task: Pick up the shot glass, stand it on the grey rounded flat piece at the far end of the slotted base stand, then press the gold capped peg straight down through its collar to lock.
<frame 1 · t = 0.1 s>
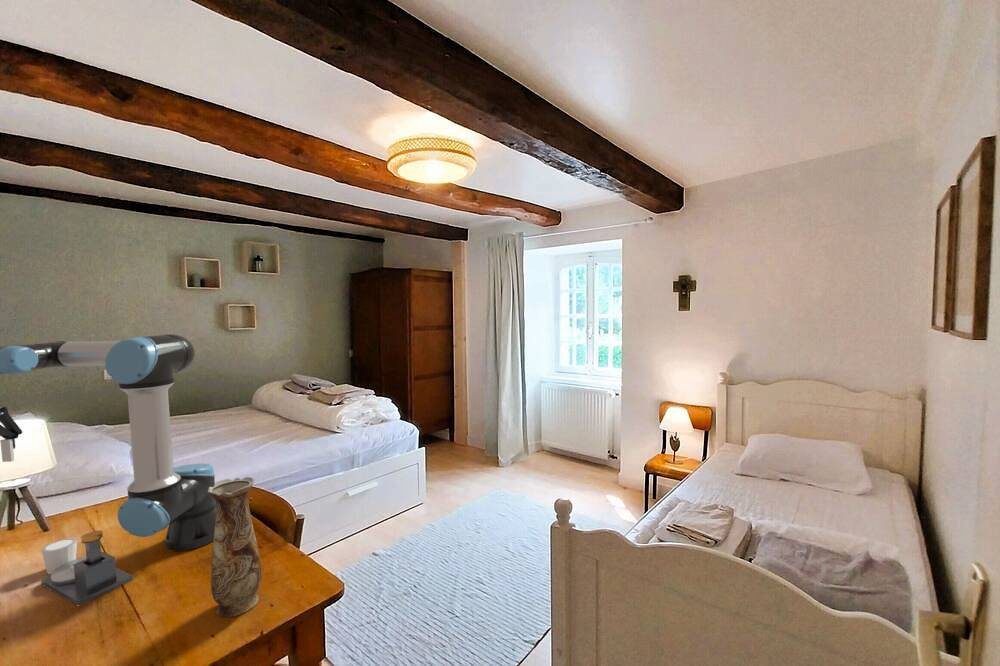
vase: (238, 604, 104), on the table
gold capped peg: (93, 549, 111), point 10 cm above the table, slide at 0.0 cm
grey rounded flat piece: (78, 577, 116), resting on slotted base stand
slotted base stand: (87, 581, 114), on the table
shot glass: (61, 569, 120), on the table
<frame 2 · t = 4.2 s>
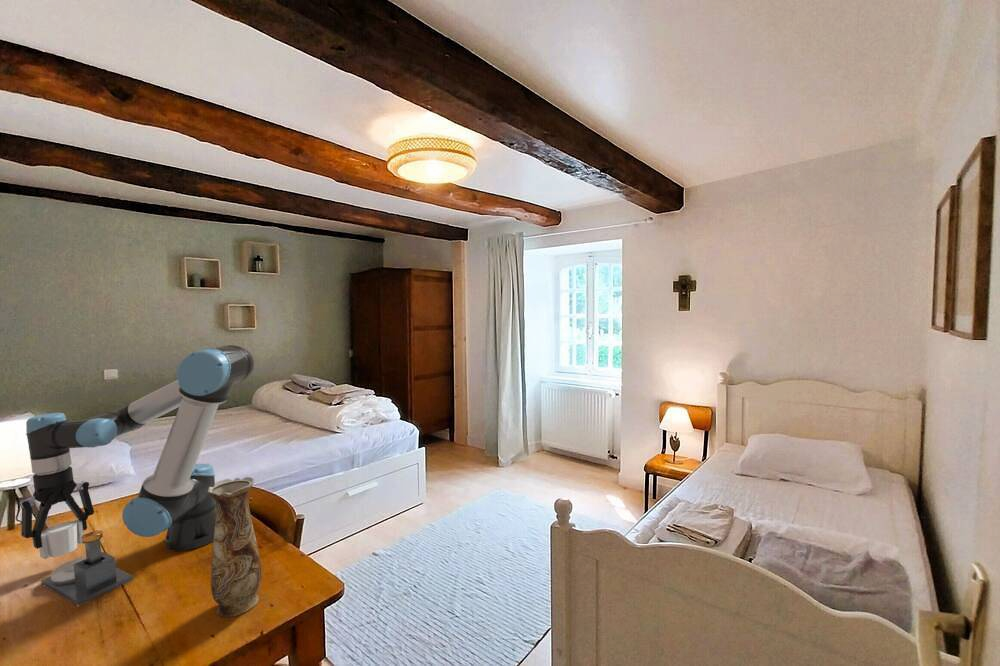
hand: (63, 549, 119), 5 cm above the table, fingers closed on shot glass, 7 cm apart
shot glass: (63, 551, 119), point 5 cm above the table, touching gripper
everything else where it was.
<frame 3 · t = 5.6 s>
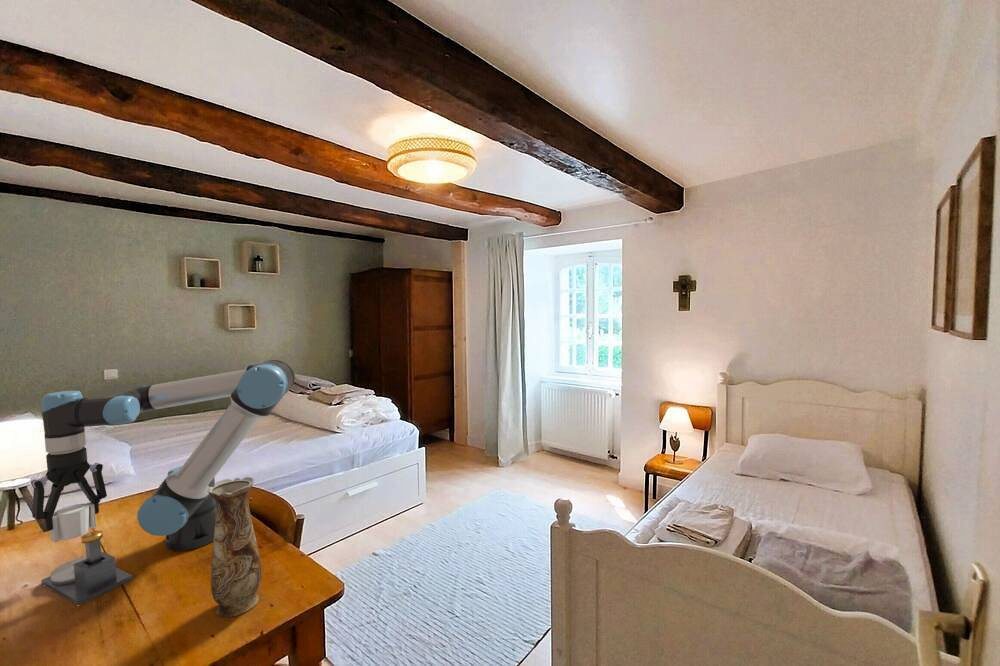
hand: (74, 533, 115), 12 cm above the table, fingers closed on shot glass, 7 cm apart
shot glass: (74, 534, 115), point 12 cm above the table, touching gripper
everything else where it was.
when the fingers open (3 cm above the table, at t = 7.4 s): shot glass stays where it is, resting on grey rounded flat piece.
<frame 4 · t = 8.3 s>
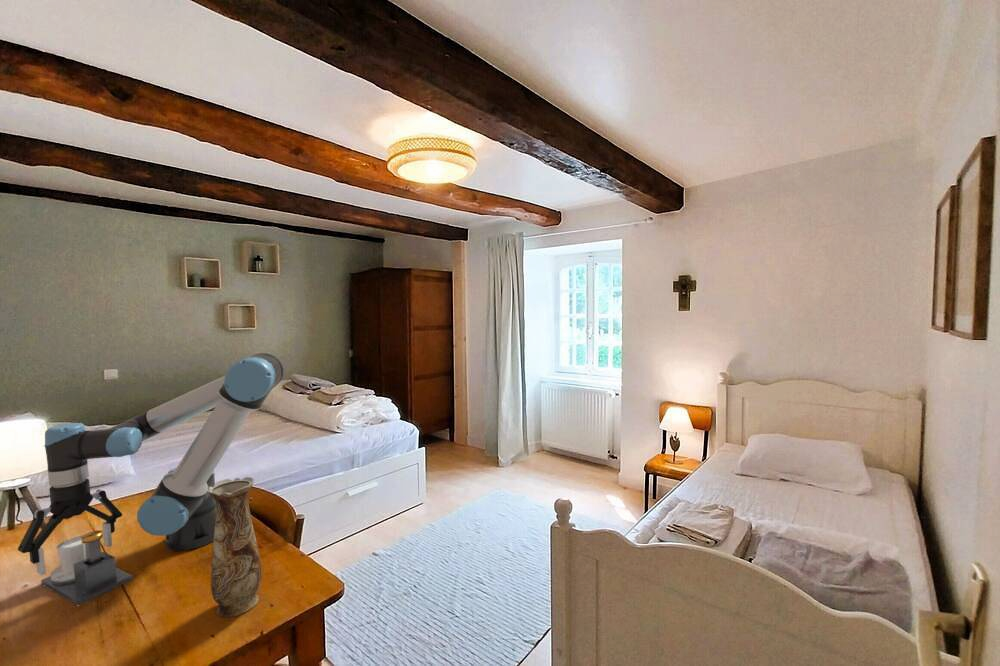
hand: (76, 558, 115), 5 cm above the table, fingers open, 13 cm apart
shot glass: (77, 567, 115), point 3 cm above the table, touching grey rounded flat piece
everything else where it was.
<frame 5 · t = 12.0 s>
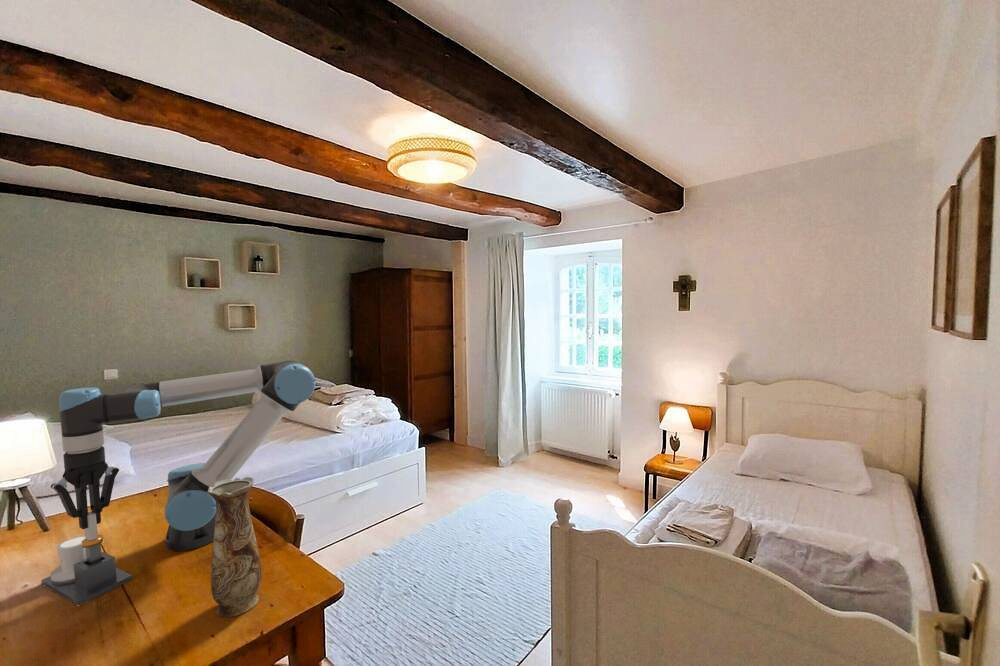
hand: (91, 538, 110), 13 cm above the table, fingers closed
gold capped peg: (93, 554, 111), point 9 cm above the table, slide at 1.2 cm, touching gripper
everything else where it was.
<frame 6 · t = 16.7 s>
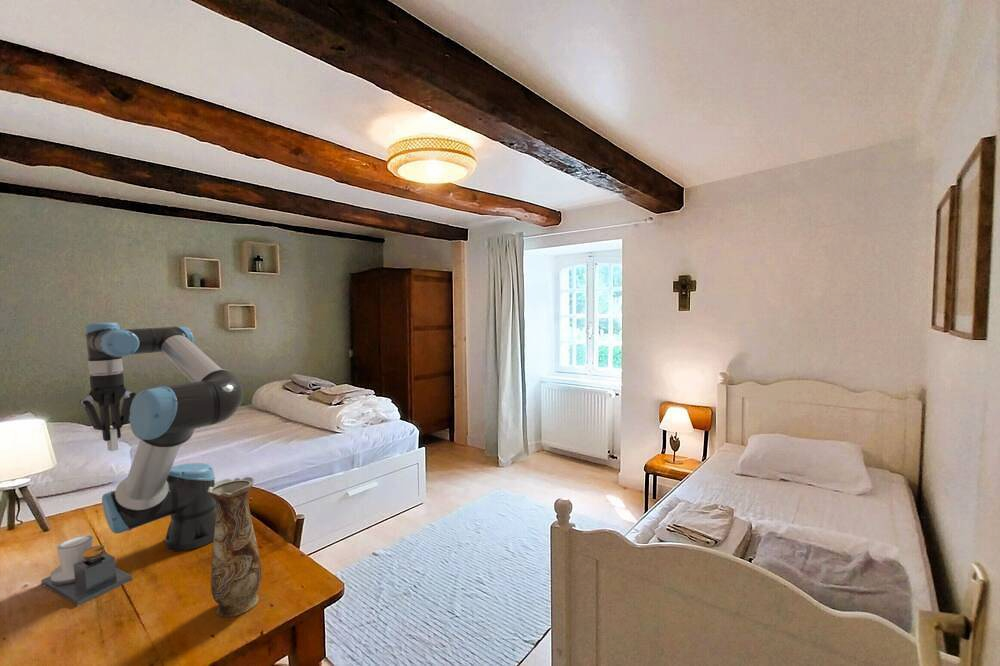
hand: (113, 449, 130), 29 cm above the table, fingers closed
gold capped peg: (94, 564, 111), point 6 cm above the table, slide at 4.1 cm
everything else where it was.
at the end: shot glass 0.0 cm off-centre on the grey rounded flat piece, point 2.8 cm above the grey rounded flat piece's base; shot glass tilted 0°; gold capped peg slide at 4.1 cm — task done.
